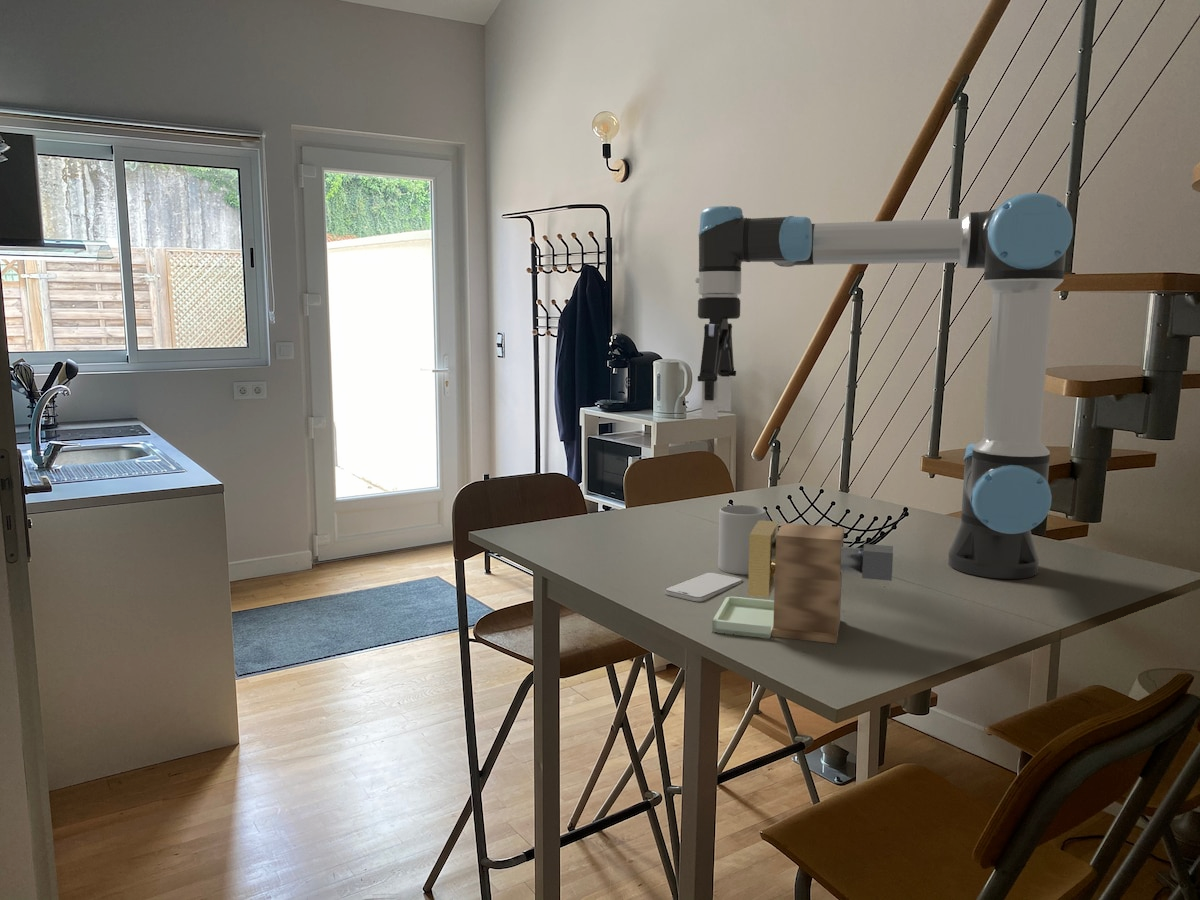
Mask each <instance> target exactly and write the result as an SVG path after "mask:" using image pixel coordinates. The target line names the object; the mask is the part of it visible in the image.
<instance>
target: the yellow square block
mask: <svg viewBox="0 0 1200 900" xmlns="http://www.w3.org/2000/svg"><path fill="white" fill-rule="evenodd" d="M778 531H779V521H775V520H773V521H772V520H770V521H762V520H759V521H758V522H757V524H756V525H755V527H754V528H753V530H752V531H751V533H750V540H749V574H748V581H747V582H748V583H747V584H748V585H747V586H748V587H747V588H748V589H747V597H754V598H755V597H756V598H768V599H769V598H770V596H771V593H772V591H773V589H774V588H775V566H771V565H772V545H773V543H774V541H776V535H777V533H778Z"/></svg>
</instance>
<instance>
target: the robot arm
mask: <svg viewBox="0 0 1200 900" xmlns="http://www.w3.org/2000/svg"><path fill="white" fill-rule="evenodd" d="M699 218H700V219H699V230H698V277H696V278H695V283H696V284H698V294H699V295H701V297H699V298H698V300H697V317H698V318H699V319H701V320H704V319H709V322H708V323H705V324H704V326H703V329H704V330H703V331H704V332H703V343H702V344H703V345H702V353H701V360H700V361H701V362H700V369H699V370H700V371H699V375H698V376H697V382H701V419H702V420H718V419H719V418H718V417H719V415H718V413H719V412H731V411H732V387H733V384H732V383H733V377H736V375H737V370H735V367H734V351H733V350H734V349H733V337H732V335H733V334H732V333H733V331H732V329H733V324H732V323H729V322H728V320H729V319H730V320H733V319H734V320H735V319H736V320H737V319H738V320H739V318H740V317H741V299H740V297H738V295H740V294H742V263H751V262H752V263H753V262H754V263H758V262H760V263H774V264H775V265H777V266H779V267H782V268H783V267H785V268H790V267H791V268H792V267H794V266H795V267H796V266H812V265H813V266H815V265H816V266H817V265H818V266H819V265H820V266H821V265H823V266H824V265H868V264H870V265H873V264H875V265H879V264H881V265H882V264H886V265H887V264H939V263H941V264H943V263H946V264H948V263H953V264H954V263H955V264H956V263H957V264H959V265H960V266H961V267H962V268H963V269H984V271H983V273H984V274H983V283H984V284H985V286H987V288H989V289H990V291H991V292H992V300H991V301H992V302H991V303H992V304H991V317H990V331H989V333H990V334H989V348H988V349H989V350H988V362H987V364H988V366H987V377H986V379H987V380H986V393H985V395H986V396H985V405H984V407H985V410H984V422H983V423H984V424H983V425H984V426H983V437H982V439H981V440H980V441H978V442H977V443H970V444H968V445H967V446H966V449H965V455H964V456H963V462H964V468H963V469H964V471H963V483H962V484H963V486H962V499H961V515H960V524H959V527H958V528H957V531H956V534H955V536H954V539H953V542H952V543H951V545H950V549H949V551H948V559H947V560H948V565H949V566H950V567H951V568H953V569H955V570H957V571H959V572H962V573H964V574H969V575H974V576H976V577H977V576H978V577H984V578H991V579H992V578H993V579H1002V580H1004V579H1006V580H1008V579H1010V580H1012V579H1015V580H1016V579H1018V580H1019V579H1027V578H1028V579H1029V578H1031V577H1034V575H1035V576H1037V575H1038V573H1039V557H1038V553H1037V549H1036V546H1035V543H1034V538H1033V535H1032V531H1031V530H1033V529H1035V528H1036V527H1038V526H1039V525H1040V524H1041V523H1043V522H1044V520H1045V519H1046V517H1047V516H1048V514H1049V512H1050V511H1051V507H1052V499H1053V496H1052V493H1051V492H1052V489H1051V488H1050V485H1049V471H1050V469H1049V468H1050V455H1051V451H1050V450H1049V449H1048V448H1047V446H1045V444H1043V442H1042V440H1041V439H1042V427H1043V426H1042V425H1043V414H1044V413H1043V410H1044V401H1045V400H1044V398H1045V385H1046V373H1047V358H1048V349H1049V348H1048V347H1049V334H1050V333H1049V332H1050V321H1051V320H1050V319H1051V307H1052V294H1053V292H1054V290H1055V289H1056V288H1057V287H1059V286H1060V285H1061V284H1062V283H1063V282H1064V280H1065V279H1064V278H1065V276H1064V275H1065V269H1066V268H1065V267H1066V256H1067V255H1066V254H1067V253H1066V252H1067V250H1068V249H1069V246H1070V245H1071V240H1072V239H1073V234H1074V229H1073V227H1074V223H1073V218H1072V216H1071V213H1070V211H1069V210H1068V208H1067V206H1065V205H1064V203H1062V201H1060V200H1059V199H1057V198H1056V197H1054V196H1052V195H1050V194H1046V193H1040V192H1029V193H1024V194H1018V195H1015V196H1012V197H1011V198H1008V199H1007V200H1005V201H1003V202H1002V203H1001V204H1000V205H999V206H998V207H997V208H996V209H991V210H986V211H977V212H975V211H974V212H973V211H969V212H966V214H965V215H964V216H962V217H961V218H948V219H947V218H946V219H945V218H942V219H916V220H915V219H914V220H909V219H908V220H887V221H886V220H885V221H884V220H883V221H880V220H879V221H877V220H876V221H857V222H856V221H855V222H853V221H852V222H851V221H850V222H848V221H847V222H824V223H823V222H819V223H818V222H817V223H813V222H812V221H811V219H810V218H809V217H807V216H795V215H794V216H793V215H788V216H779V217H776V216H775V217H760V218H759V217H758V218H757V217H756V218H753V217H752V218H747V217H744V215H743V209H742V208H741V207H739V206H732V205H730V206H729V205H728V206H727V205H723V206H722V205H720V206H718V205H717V206H708V207H706V208H704V209H703V210H702V211H701V212H700V217H699Z"/></svg>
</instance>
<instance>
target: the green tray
mask: <svg viewBox="0 0 1200 900" xmlns="http://www.w3.org/2000/svg"><path fill="white" fill-rule="evenodd" d="M773 622H774V599H762V598H755V597H754V598H752V597H741V596H732V595H731V596H730V595H726V597H725V598H724V600H723V602H722V604H721V605H720V607H719V609H718V610H717V612H716V613H715V615H714V617H713V619H712V622H711V623H712V624H711V629H712V630H711V632H712V633H715V632H717V633H716V634H724V633H725V634H724V635H733V634H734V635H733V636H743V637H753V638H762V639H771V637H772V630H773Z"/></svg>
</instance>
